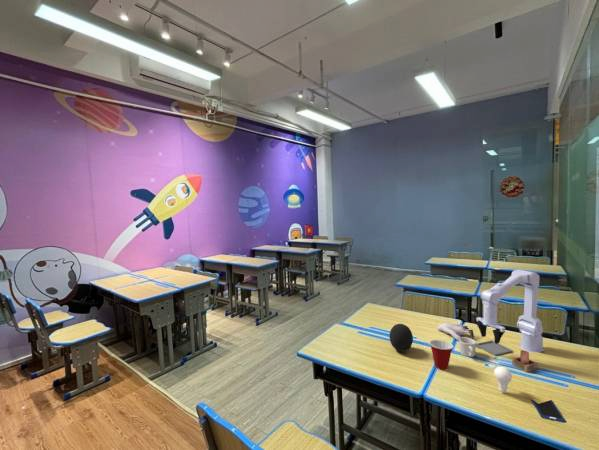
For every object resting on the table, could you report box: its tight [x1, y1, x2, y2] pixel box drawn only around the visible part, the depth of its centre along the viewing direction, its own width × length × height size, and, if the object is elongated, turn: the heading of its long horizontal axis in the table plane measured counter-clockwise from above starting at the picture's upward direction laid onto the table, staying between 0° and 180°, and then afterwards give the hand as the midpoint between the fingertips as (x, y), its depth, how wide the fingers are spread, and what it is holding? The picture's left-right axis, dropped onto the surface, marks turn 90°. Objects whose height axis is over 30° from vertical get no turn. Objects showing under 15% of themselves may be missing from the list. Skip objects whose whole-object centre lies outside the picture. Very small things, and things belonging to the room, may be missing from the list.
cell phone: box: [530, 398, 567, 424], centre depth 110 cm, size 7×14×1 cm, turn 157°
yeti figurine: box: [437, 322, 475, 342], centre depth 174 cm, size 20×7×20 cm
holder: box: [511, 356, 539, 373], centre depth 136 cm, size 7×7×4 cm
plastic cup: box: [428, 339, 454, 371], centre depth 139 cm, size 11×11×12 cm
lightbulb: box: [493, 366, 513, 394], centre depth 119 cm, size 6×6×11 cm
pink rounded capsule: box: [519, 349, 530, 365], centre depth 135 cm, size 3×3×8 cm
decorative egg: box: [388, 323, 414, 352], centre depth 156 cm, size 12×12×15 cm
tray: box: [476, 340, 514, 357], centre depth 153 cm, size 12×12×2 cm
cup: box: [458, 336, 477, 358], centre depth 148 cm, size 11×8×8 cm
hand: (490, 339), depth 145 cm, fingers open, 7 cm apart
